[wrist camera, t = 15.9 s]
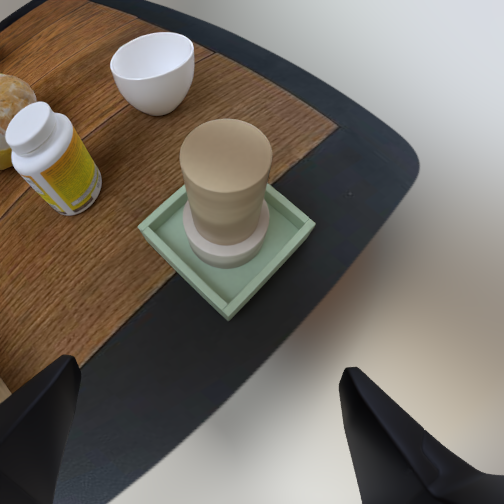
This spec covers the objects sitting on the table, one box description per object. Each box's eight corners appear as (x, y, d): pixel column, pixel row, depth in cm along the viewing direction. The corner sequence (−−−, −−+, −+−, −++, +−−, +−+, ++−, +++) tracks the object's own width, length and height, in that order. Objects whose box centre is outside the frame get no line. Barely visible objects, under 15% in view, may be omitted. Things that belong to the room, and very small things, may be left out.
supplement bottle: (108, 162, 27) (69, 86, 17) (98, 216, 25) (45, 147, 15) (59, 168, 26) (12, 101, 17) (47, 219, 25) (-14, 160, 15)
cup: (155, 141, 28) (141, 91, 22) (102, 100, 30) (85, 55, 23) (212, 98, 30) (211, 48, 24) (154, 64, 32) (147, 20, 25)
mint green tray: (307, 238, 26) (316, 223, 23) (228, 321, 23) (228, 317, 20) (226, 169, 27) (226, 149, 25) (146, 240, 25) (136, 226, 22)
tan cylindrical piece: (242, 283, 23) (252, 229, 13) (173, 246, 23) (140, 174, 14) (277, 217, 25) (305, 136, 15) (212, 186, 25) (205, 95, 16)
